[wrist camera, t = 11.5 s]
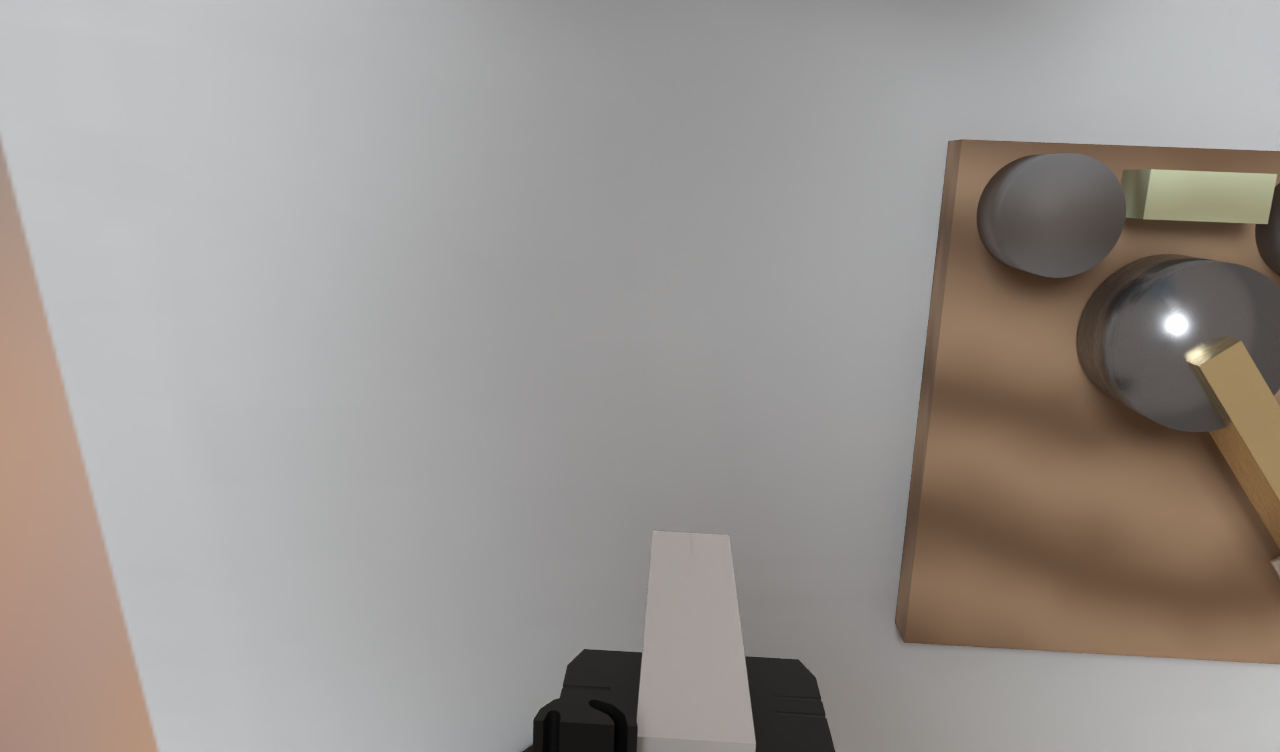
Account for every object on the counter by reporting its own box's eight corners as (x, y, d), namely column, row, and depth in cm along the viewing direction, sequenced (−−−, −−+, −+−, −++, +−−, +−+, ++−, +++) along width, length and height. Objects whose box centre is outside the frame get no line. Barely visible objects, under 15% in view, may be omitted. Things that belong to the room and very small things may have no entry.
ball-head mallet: (1048, 313, 40) (1095, 331, 35) (1192, 221, 39) (1260, 228, 34) (1225, 595, 42) (1290, 646, 38) (1365, 517, 41) (1450, 560, 37)
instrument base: (948, 141, 41) (984, 137, 36) (1378, 157, 40) (1474, 155, 35) (895, 622, 46) (920, 675, 41) (1273, 644, 45) (1344, 701, 40)
